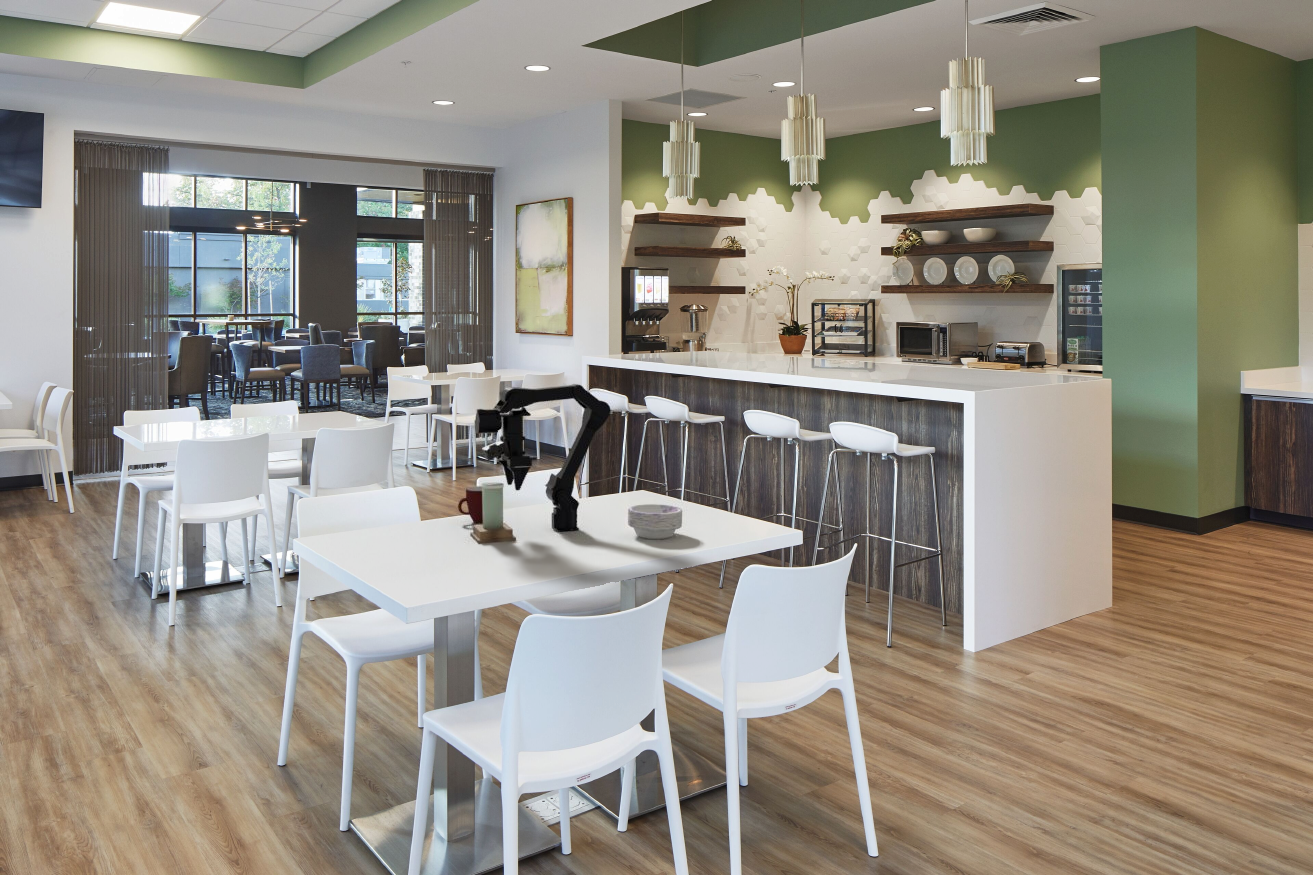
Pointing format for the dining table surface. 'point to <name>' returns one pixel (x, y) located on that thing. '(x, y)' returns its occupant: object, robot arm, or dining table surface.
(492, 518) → the tumbler
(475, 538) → the pedestal
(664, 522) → the paper bowls
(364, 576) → the dining table surface
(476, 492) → the mug
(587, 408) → the robot arm
